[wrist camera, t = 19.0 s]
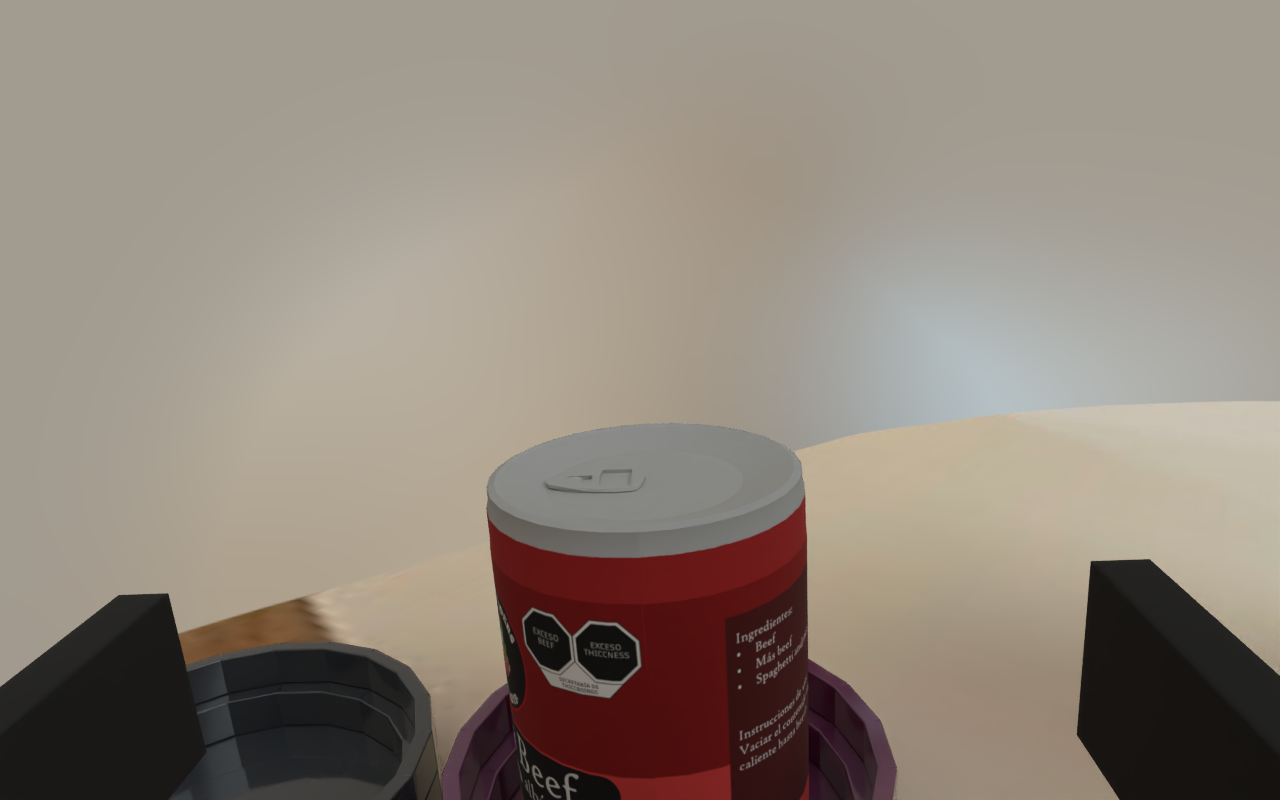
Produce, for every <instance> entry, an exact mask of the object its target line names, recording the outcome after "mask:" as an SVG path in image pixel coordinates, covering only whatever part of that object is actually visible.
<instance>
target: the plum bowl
mask: <svg viewBox="0 0 1280 800" xmlns="http://www.w3.org/2000/svg"><path fill="white" fill-rule="evenodd" d="M808 726H809V800H897V766H896V764H895V761H894V758H893V755H892V752H891V749H890V746H889V743H888V740H887V737H886V734H885V731H884V728H883V725H882V723H881V721H880V719H879V718H878V717H877V716H876V715H875V714H874V713H873V711H872V710H871V709H870V708H869V707H868V706H867V705H866V703H865V702H864V701H863V700H862V699H861V698H860V696H859V695H858V694H857V693H856V692H855V691H854V690H853V688H852V687H851V686H850V685H849V684H847V683H846V682H845V681H843V680H842V679H840V678H838V677H837V676H835V675H834V674H832V673H830V672H829V671H827V670H826V669H824V668H822V667H821V666H819V665H818V664H816V663H814V662H813V661H811V660H810V659H808ZM441 784H442V800H522V792H521V784H520V777H519V769H518V761H517V753H516V745H515V738H514V730H513V722H512V714H511V706H510V698H509V691H508V683H507V684H505V685H504V686H502V687H501V688H499V689H498V690H496V691H495V692H494V693H492V694H491V695H490V697H489V698H488V699H487V700H486V701H485V702H484V703H483V704H482V706H481V707H480V708H479V709H478V710H477V711H476V712H475V713H474V715H473V716H472V717H471V718H470V719H469V720H468V721H467V723H466V724H465V725H464V726H463V727H462V728H461V729H460V731H459V733H458V736H457V738H456V741H455V743H454V746H453V748H452V751H451V753H450V756H449V758H448V761H447V763H446V766H445V768H444V771H443V773H442V778H441Z"/></svg>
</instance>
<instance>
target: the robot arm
mask: <svg viewBox="0 0 1280 800" xmlns="http://www.w3.org/2000/svg"><path fill="white" fill-rule="evenodd" d="M1077 736H1078V737H1079V739H1080V740H1081V742H1082V743H1083V745H1084V746H1085V748H1086V749H1087V751H1088V752H1089V754H1090V755H1091V757H1092V758H1093V760H1094V761H1095V763H1096V765H1097V766H1098V768H1099V769H1100V771H1101V772H1102V774H1103V775H1104V777H1105V778H1106V780H1107V781H1108V783H1109V784H1110V786H1111V787H1112V789H1113V790H1114V792H1115V793H1116V795H1117V796H1118V798H1119V799H1120V800H1280V676H1279V675H1278V674H1277V673H1276V672H1275V671H1274V670H1273V669H1272V668H1270V667H1269V666H1268V665H1267V664H1266V663H1265V662H1264V661H1263V660H1262V659H1260V658H1259V657H1258V656H1257V655H1256V654H1255V653H1254V652H1253V651H1251V650H1250V649H1249V648H1248V647H1247V646H1246V645H1245V644H1244V643H1243V642H1241V641H1240V640H1239V639H1238V638H1237V637H1236V636H1235V635H1234V634H1232V633H1231V632H1230V631H1229V630H1228V629H1227V628H1226V627H1225V626H1223V625H1222V624H1221V623H1220V622H1219V621H1218V620H1217V619H1216V618H1215V617H1213V616H1212V615H1211V614H1210V613H1209V612H1208V611H1207V610H1206V609H1204V608H1203V607H1202V606H1201V605H1200V604H1199V603H1198V602H1197V601H1196V600H1194V599H1193V598H1192V597H1191V596H1190V595H1189V594H1188V593H1187V592H1185V591H1184V590H1183V589H1182V588H1181V587H1180V586H1179V585H1178V584H1177V583H1175V582H1174V581H1173V580H1172V579H1171V578H1170V577H1169V576H1168V575H1166V574H1165V573H1164V572H1163V571H1162V570H1161V569H1160V568H1159V567H1158V566H1156V565H1155V564H1154V563H1153V562H1152V561H1151V560H1150V559H1144V560H1115V561H1091V566H1090V578H1089V591H1088V603H1087V616H1086V628H1085V640H1084V653H1083V665H1082V677H1081V690H1080V702H1079V714H1078V727H1077ZM206 753H207V752H206V748H205V743H204V739H203V735H202V731H201V727H200V723H199V719H198V715H197V710H196V706H195V702H194V698H193V694H192V690H191V686H190V681H189V677H188V673H187V669H186V665H185V661H184V657H183V652H182V648H181V644H180V640H179V636H178V632H177V628H176V624H175V620H174V615H173V611H172V607H171V603H170V599H169V595H168V594H140V595H139V594H138V595H119V596H117V597H116V598H114V599H113V600H112V601H111V602H109V603H108V604H107V605H105V606H104V607H103V608H102V609H100V610H99V611H98V612H96V613H95V614H94V615H93V616H91V617H90V618H89V619H87V620H86V621H85V622H84V623H82V624H81V625H80V626H79V627H77V628H76V629H75V630H73V631H72V632H71V633H69V634H68V635H67V636H65V637H64V638H63V639H62V640H60V641H59V642H58V643H57V644H55V645H54V646H53V647H51V648H50V649H49V650H47V651H46V652H45V653H44V654H42V655H41V656H40V657H38V658H37V659H36V660H35V661H34V662H32V663H31V664H29V665H28V666H27V667H25V668H24V669H23V670H22V671H20V672H19V673H18V674H16V675H15V676H14V677H13V678H11V679H10V680H9V681H7V682H6V683H5V684H4V685H2V686H1V687H0V800H169V798H170V797H171V796H172V795H173V793H174V792H175V791H176V790H177V788H178V787H179V786H180V785H181V784H182V782H183V781H184V780H185V779H186V777H187V776H188V775H189V774H190V772H191V771H192V770H193V769H194V767H195V766H196V765H197V764H198V762H199V761H200V760H201V759H202V758H203V756H204V755H205V754H206Z"/></svg>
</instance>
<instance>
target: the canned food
mask: <svg viewBox="0 0 1280 800" xmlns="http://www.w3.org/2000/svg"><path fill="white" fill-rule="evenodd" d="M487 495H488V502H487V508H486V509H487V518H488V525H489V533H490V550H491V558H492V565H493V573H494V581H495V589H496V597H497V605H498V612H499V620H500V628H501V636H502V644H503V651H504V659H505V667H506V675H507V683H508V691H509V698H510V706H511V714H512V722H513V730H514V738H515V745H516V753H517V761H518V769H519V777H520V784H521V792H522V800H809V726H808V616H807V533H806V514H805V487H804V481H803V478H802V466H801V461H800V460H799V459H798V457H797V456H796V454H795V453H794V452H793V451H791V450H790V449H788V448H787V447H785V446H784V445H783V444H781V443H778V442H776V441H773V440H771V439H769V438H767V437H764V436H761V435H757V434H753V433H750V432H747V431H743V430H738V429H732V428H726V427H721V426H712V425H702V424H681V423H661V424H659V423H657V424H638V425H626V426H617V427H610V428H602V429H596V430H591V431H586V432H581V433H576V434H572V435H568V436H564V437H561V438H557V439H553V440H551V441H548V442H545V443H542V444H540V445H537V446H534V447H532V448H530V449H528V450H526V451H524V452H522V453H520V454H517V455H515V456H514V457H511V458H510V459H509V460H507V461H506V462H504V463H503V464H502V465H500V466H499V467H498V468H497V469H496V470H495V471H494V473H493V474H492V475H491V476H490V478H489V481H488V484H487Z"/></svg>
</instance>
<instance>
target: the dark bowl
mask: <svg viewBox="0 0 1280 800" xmlns="http://www.w3.org/2000/svg"><path fill="white" fill-rule="evenodd" d="M186 669H187V673H188V677H189V681H190V686H191V690H192V694H193V698H194V702H195V706H196V710H197V715H198V719H199V723H200V727H201V731H202V735H203V739H204V743H205V748H206V752H207V753H206V754H205V755H204V756H203V758H202V759H201V760H200V761H199V762H198V764H197V765H196V766H195V767H194V769H193V770H192V771H191V772H190V774H189V775H188V776H187V777H186V779H185V780H184V781H183V782H182V784H181V785H180V786H179V787H178V788H177V790H176V791H175V792H174V793H173V795H172V796H171V797H170V798H169V800H442V784H441V778H442V774H441V763H440V756H439V749H438V743H437V736H436V730H435V723H434V716H433V710H432V703H431V696H430V694H429V693H428V691H427V690H426V688H425V687H424V686H423V684H422V683H421V682H420V680H419V679H418V677H417V676H416V675H415V673H414V672H413V671H412V669H411V668H410V667H409V666H407V665H405V664H403V663H401V662H399V661H397V660H396V659H394V658H392V657H390V656H388V655H386V654H384V653H382V652H380V651H378V650H375V649H371V648H365V647H360V646H354V645H348V644H342V643H337V642H301V643H279V644H271V645H266V646H261V647H255V648H250V649H244V650H239V651H234V652H228V653H223V654H221V655H220V654H219V655H216V656H212V657H209V658H206V659H203V660H200V661H197V662H194V663H191V664H188V665H186Z"/></svg>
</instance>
